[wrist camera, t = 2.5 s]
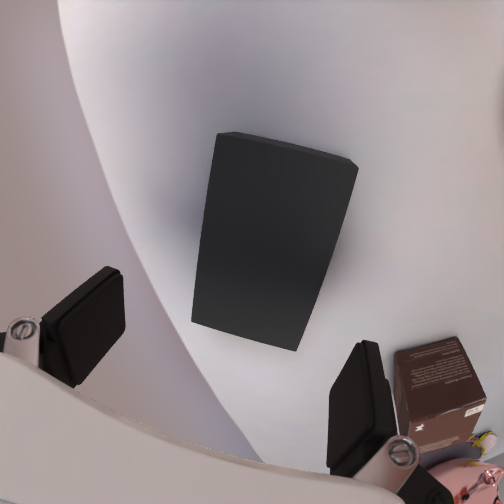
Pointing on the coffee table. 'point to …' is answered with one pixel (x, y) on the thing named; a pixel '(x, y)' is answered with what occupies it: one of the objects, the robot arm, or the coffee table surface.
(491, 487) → the piggy bank
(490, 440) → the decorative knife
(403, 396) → the box
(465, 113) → the coffee table surface
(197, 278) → the black rectangular block
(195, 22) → the coffee table surface
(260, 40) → the coffee table surface
